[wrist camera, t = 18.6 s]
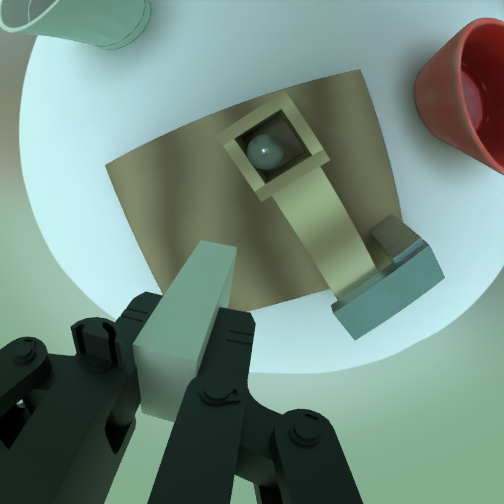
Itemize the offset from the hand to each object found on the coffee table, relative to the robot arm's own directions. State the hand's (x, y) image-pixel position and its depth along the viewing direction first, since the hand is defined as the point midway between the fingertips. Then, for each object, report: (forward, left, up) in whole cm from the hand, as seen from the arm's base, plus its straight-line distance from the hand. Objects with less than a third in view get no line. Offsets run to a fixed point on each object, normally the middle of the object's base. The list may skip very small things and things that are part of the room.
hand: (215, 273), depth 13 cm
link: (-5, +1, -12) cm, 13 cm away
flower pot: (-20, -4, -14) cm, 25 cm away
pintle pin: (-3, -4, -13) cm, 14 cm away
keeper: (-8, +7, -12) cm, 17 cm away
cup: (+5, -21, -14) cm, 25 cm away
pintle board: (-1, +1, -13) cm, 13 cm away
